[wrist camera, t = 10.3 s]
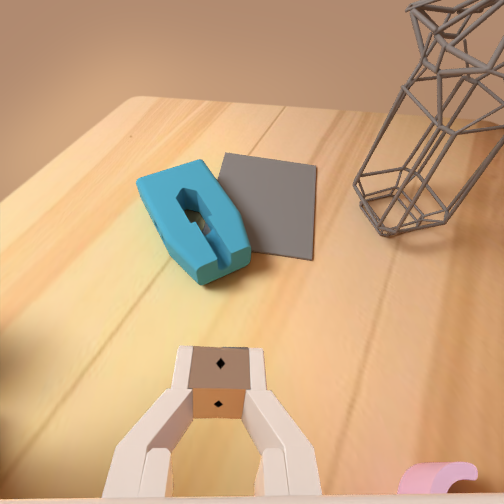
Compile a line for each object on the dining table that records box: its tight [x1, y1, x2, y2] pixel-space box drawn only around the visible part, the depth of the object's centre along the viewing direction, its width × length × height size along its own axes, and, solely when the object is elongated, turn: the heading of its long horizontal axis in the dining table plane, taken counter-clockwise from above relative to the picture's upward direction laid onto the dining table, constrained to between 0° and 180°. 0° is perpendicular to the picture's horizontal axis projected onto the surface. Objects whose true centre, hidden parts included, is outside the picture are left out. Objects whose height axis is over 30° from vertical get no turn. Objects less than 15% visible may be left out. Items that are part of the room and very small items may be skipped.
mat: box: [203, 152, 316, 261], centre depth 58 cm, size 18×22×1 cm
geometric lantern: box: [353, 0, 504, 237], centre depth 43 cm, size 16×16×35 cm
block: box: [136, 159, 251, 285], centre depth 51 cm, size 12×5×20 cm
